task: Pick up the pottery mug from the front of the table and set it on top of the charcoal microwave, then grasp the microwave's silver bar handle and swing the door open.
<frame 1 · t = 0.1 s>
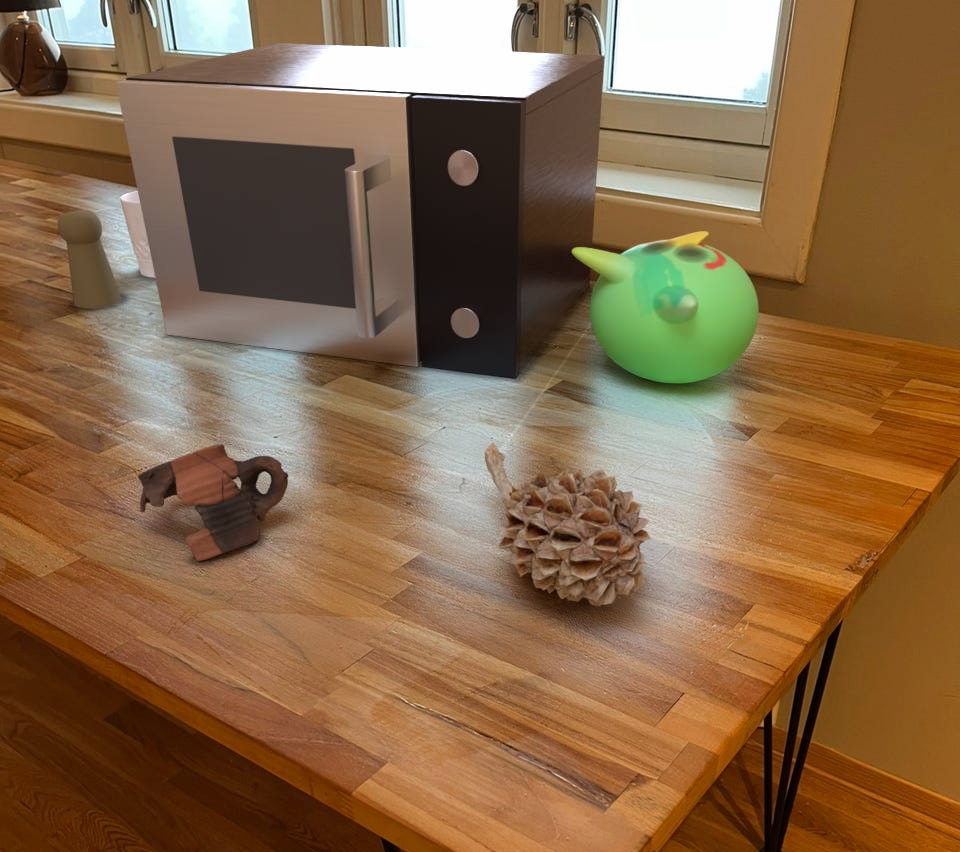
toy bird: (661, 377, 106), on the table
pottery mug: (222, 531, 80), on the table
pine cone: (543, 568, 76), on the table
microwave door: (259, 236, 102), point 13 cm above the table, hinge at 0.0°
tan game pawn: (98, 302, 127), on the table
white cup: (165, 272, 137), on the table
microwave: (393, 307, 124), on the table
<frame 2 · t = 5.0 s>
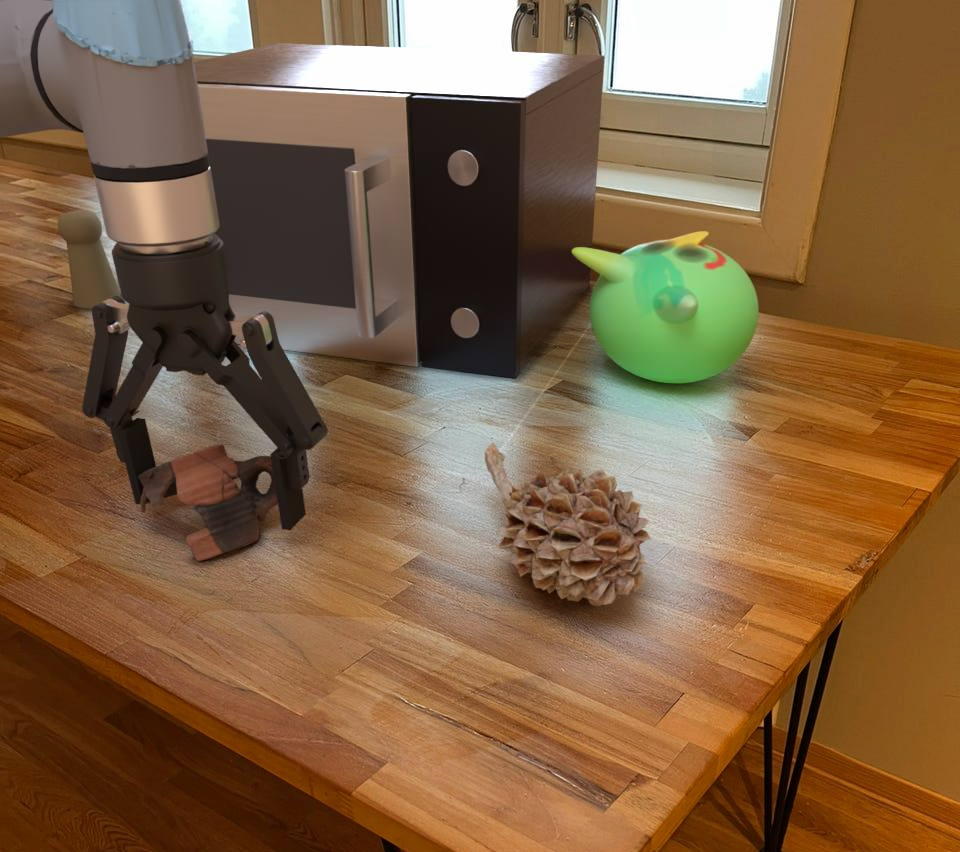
hand: (219, 509, 79), 2 cm above the table, tool pointing down, fingers open, 13 cm apart
nothing on the table moved.
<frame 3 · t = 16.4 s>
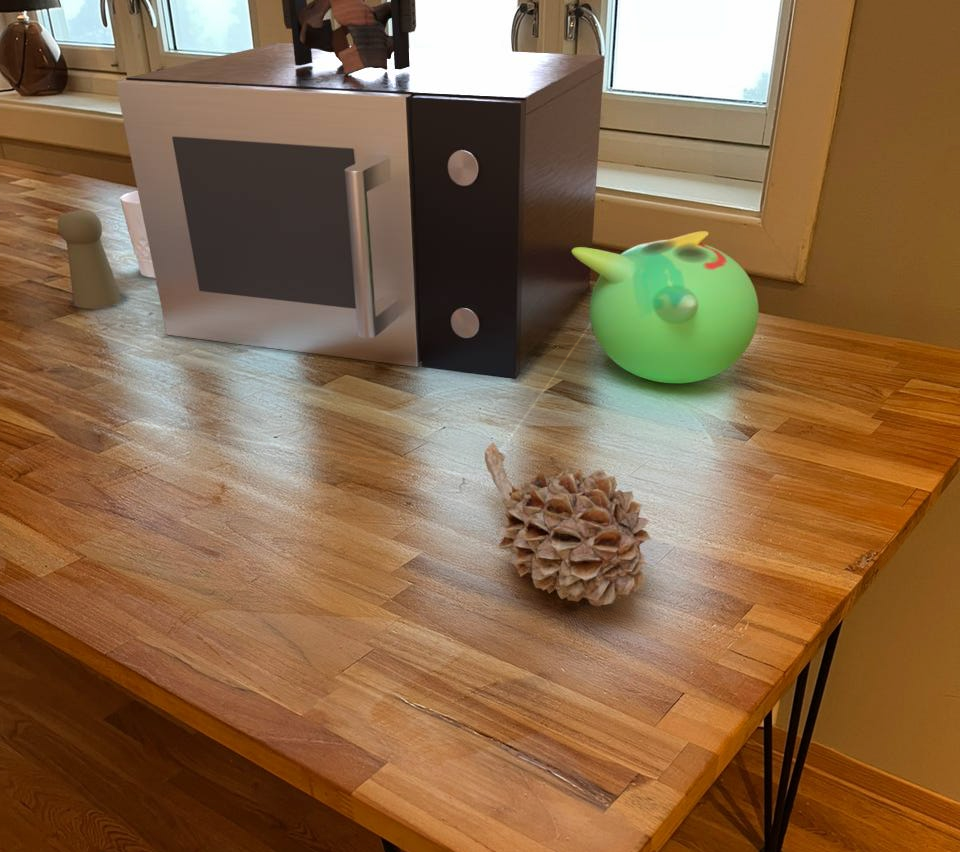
hand: (352, 66, 106), 27 cm above the table, tool pointing down, fingers closed on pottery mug, 11 cm apart
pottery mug: (358, 70, 106), point 27 cm above the table, touching gripper
everything else where it was.
when the fingers open (28 cm above the table, at t = 23.2 s): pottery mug moves 1 cm, resting on microwave.
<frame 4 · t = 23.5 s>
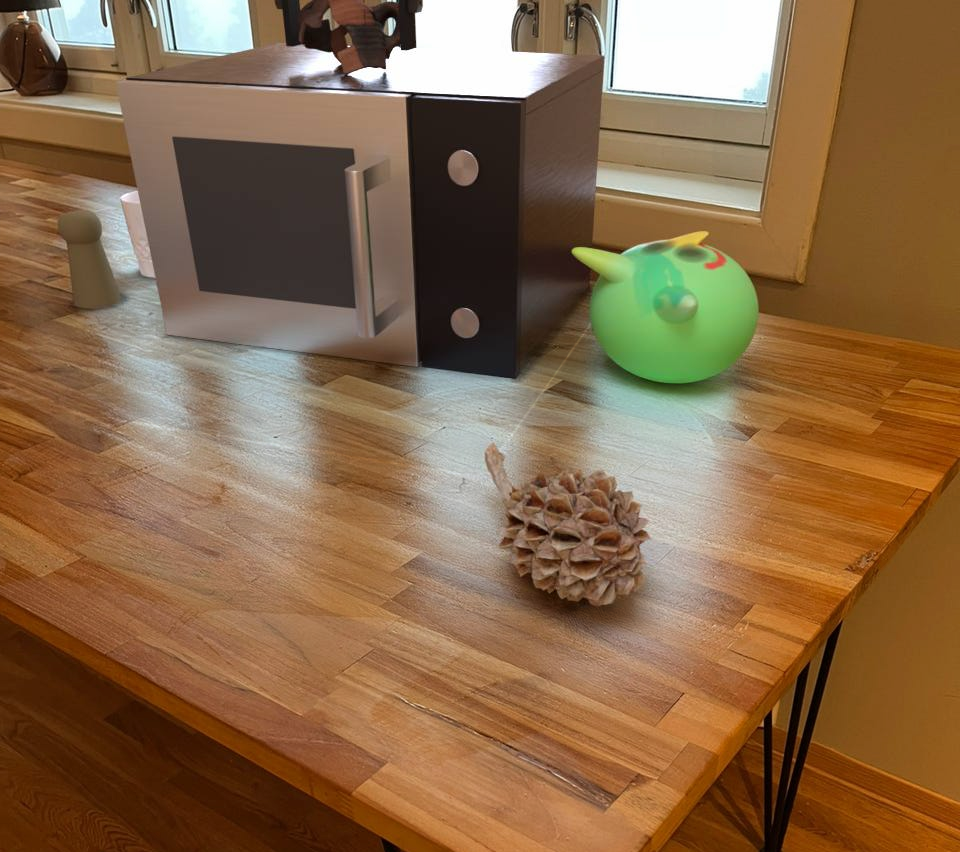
hand: (350, 47, 105), 29 cm above the table, tool pointing down, fingers open, 13 cm apart
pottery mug: (356, 70, 106), point 27 cm above the table, touching microwave
everything else where it was.
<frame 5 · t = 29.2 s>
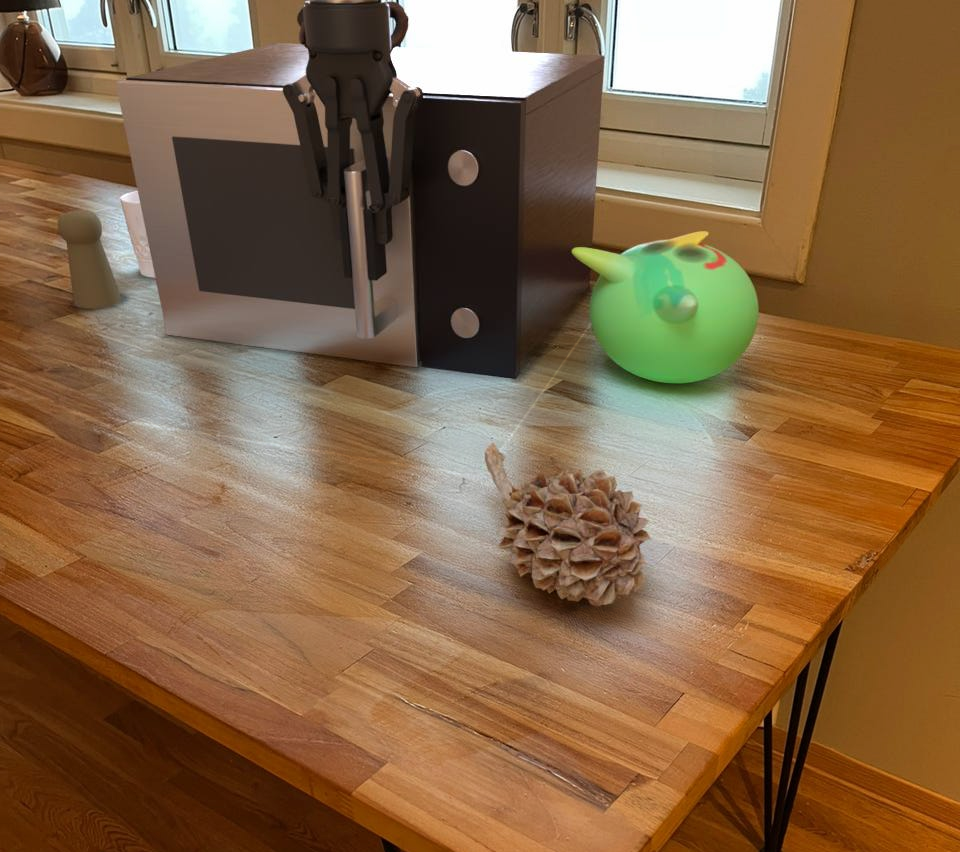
hand: (365, 274, 98), 12 cm above the table, tool pointing down, fingers closed on microwave door, 2 cm apart
microwave door: (259, 236, 102), point 13 cm above the table, hinge at 0.3°, touching gripper
everything else where it was.
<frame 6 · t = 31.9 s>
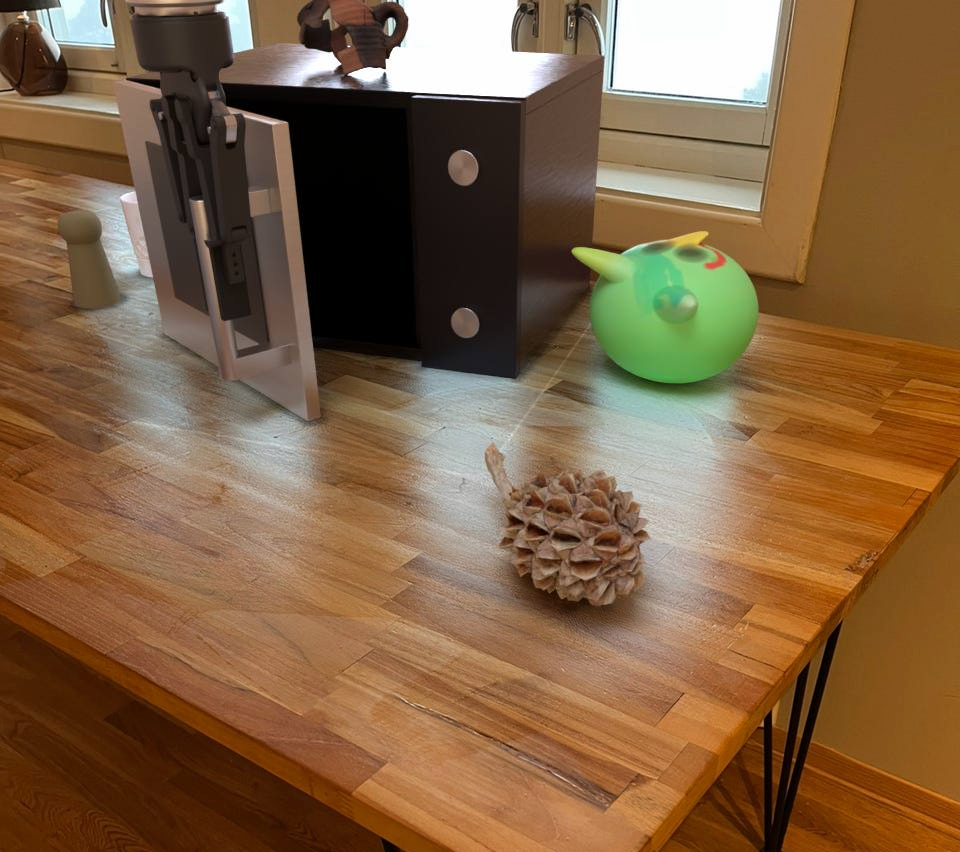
hand: (228, 312, 89), 11 cm above the table, tool pointing down, fingers open, 2 cm apart
microwave door: (183, 253, 97), point 14 cm above the table, hinge at 31.3°, touching gripper
everything else where it was.
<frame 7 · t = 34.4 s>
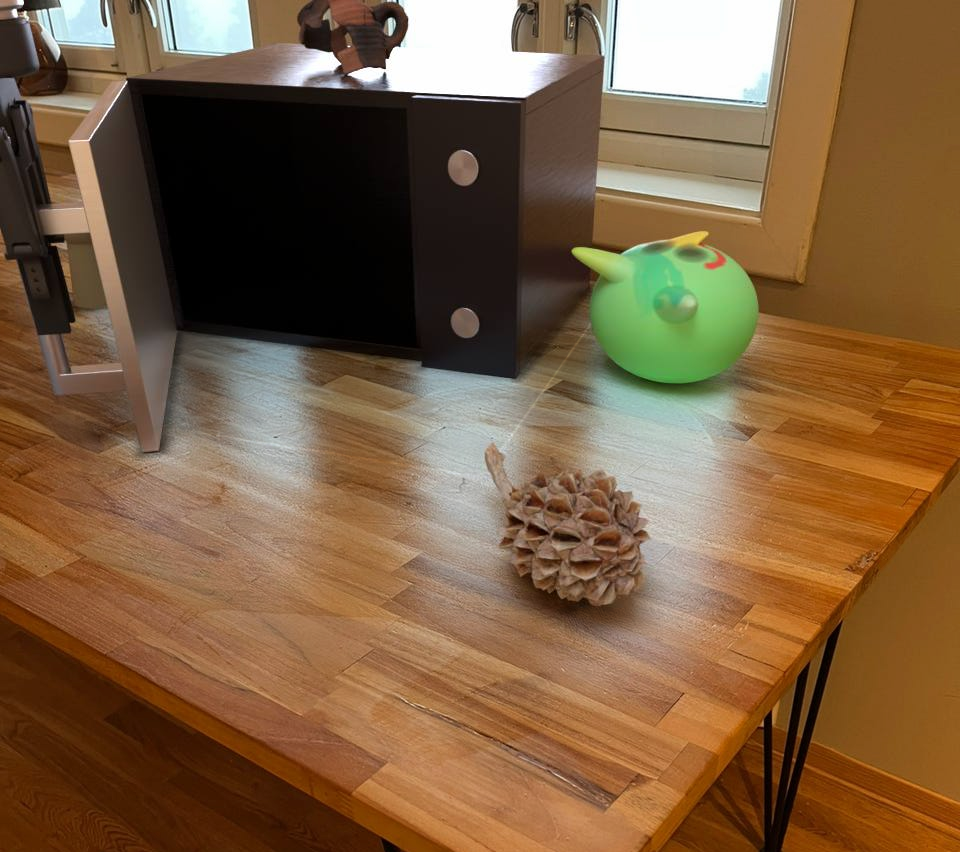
hand: (57, 327, 86), 11 cm above the table, tool pointing down, fingers closed on microwave door, 2 cm apart
microwave door: (97, 259, 96), point 13 cm above the table, hinge at 60.2°, touching gripper
everything else where it was.
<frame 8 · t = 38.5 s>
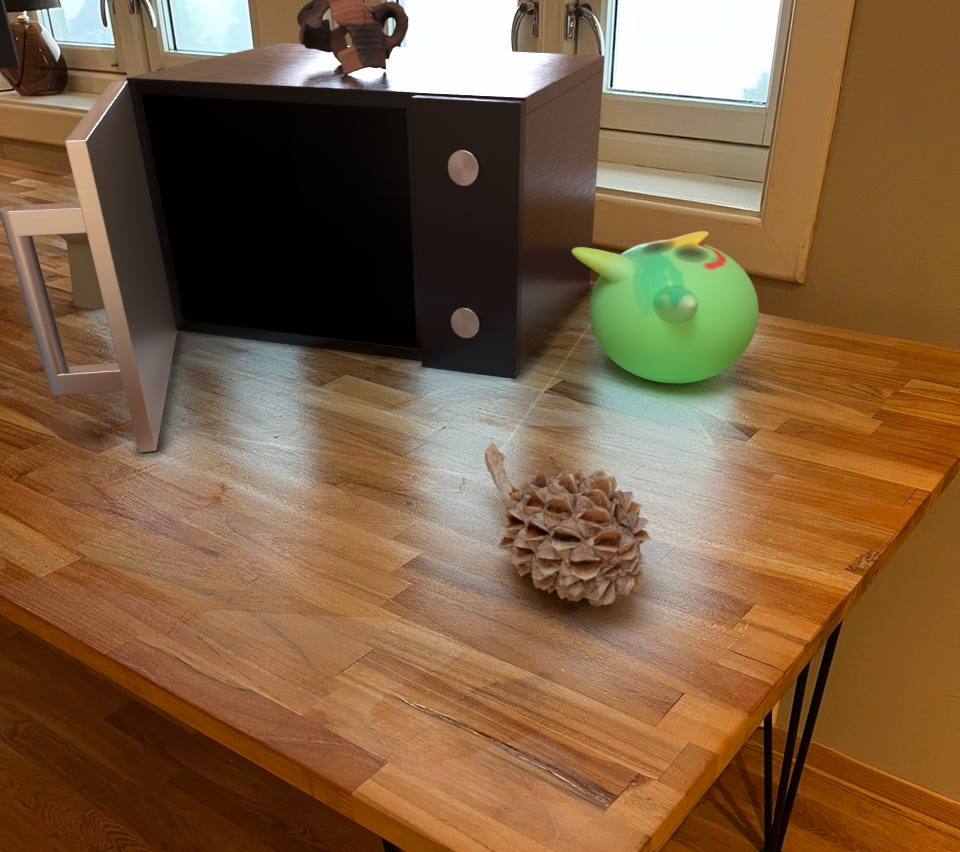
microwave door: (96, 259, 96), point 14 cm above the table, hinge at 60.6°
everything else where it was.
at the end: microwave door at +61° (first picture: +0°); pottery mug inside the target area on the microwave (3.2 cm from its centre), point 26.8 cm above the microwave's base; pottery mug tilted 1° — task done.
